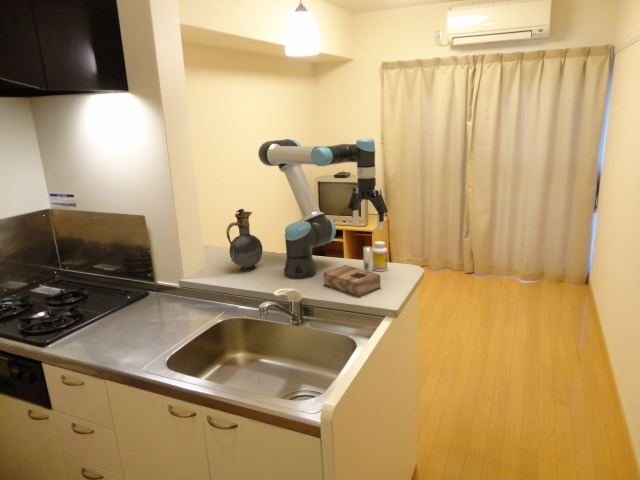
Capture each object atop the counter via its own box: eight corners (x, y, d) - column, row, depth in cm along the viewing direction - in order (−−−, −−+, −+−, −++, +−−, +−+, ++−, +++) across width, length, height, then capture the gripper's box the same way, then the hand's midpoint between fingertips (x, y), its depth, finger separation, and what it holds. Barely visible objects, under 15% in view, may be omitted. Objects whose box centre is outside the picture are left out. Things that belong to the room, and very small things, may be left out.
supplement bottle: (386, 271, 206) (386, 244, 202) (372, 271, 207) (371, 244, 204) (387, 267, 212) (387, 240, 209) (373, 266, 213) (373, 240, 210)
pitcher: (267, 265, 223) (262, 205, 215) (240, 277, 208) (233, 213, 200) (250, 262, 229) (245, 204, 221) (223, 274, 213) (216, 211, 206)
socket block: (324, 285, 192) (323, 272, 191) (345, 277, 200) (345, 264, 199) (358, 297, 178) (358, 283, 176) (380, 288, 186) (380, 274, 184)
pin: (361, 278, 199) (361, 247, 195) (368, 276, 201) (367, 245, 198) (368, 280, 196) (368, 249, 192) (374, 278, 198) (374, 247, 195)
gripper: (338, 176, 194) (340, 224, 199) (383, 180, 176) (384, 233, 181) (351, 174, 198) (352, 221, 204) (396, 177, 180) (396, 229, 186)
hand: (367, 227), depth 192 cm, fingers open, 13 cm apart
